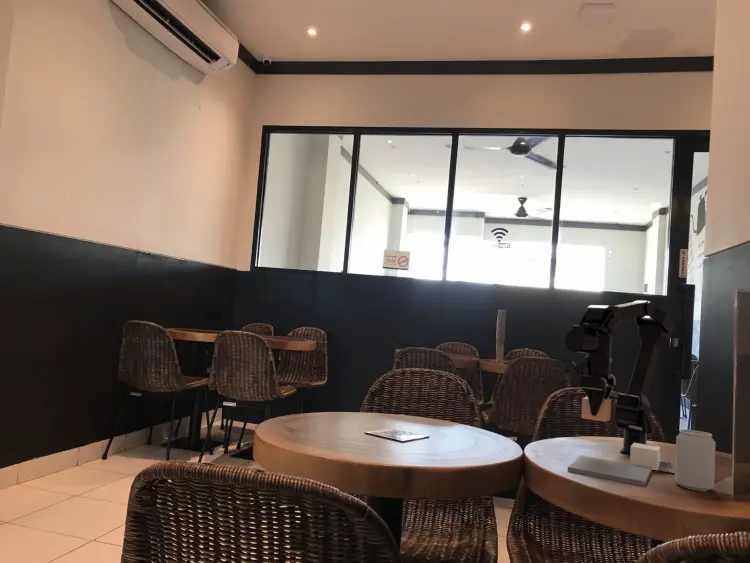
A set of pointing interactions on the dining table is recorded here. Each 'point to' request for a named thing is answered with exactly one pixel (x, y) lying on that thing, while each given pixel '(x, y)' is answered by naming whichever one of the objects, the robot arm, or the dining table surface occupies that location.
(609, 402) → the brick terracotta
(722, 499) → the dining table surface
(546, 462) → the dining table surface
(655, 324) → the robot arm
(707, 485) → the can
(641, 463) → the brick cream
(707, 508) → the dining table surface
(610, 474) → the baseplate
